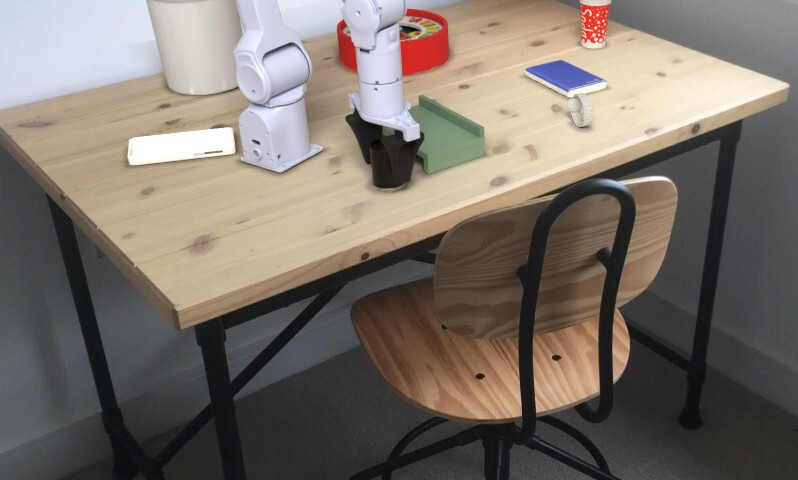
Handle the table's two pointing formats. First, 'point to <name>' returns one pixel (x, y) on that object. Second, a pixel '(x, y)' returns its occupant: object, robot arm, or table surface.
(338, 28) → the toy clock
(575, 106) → the wristwatch
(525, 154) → the table surface
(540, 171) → the table surface
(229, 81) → the utensil holder
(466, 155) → the shelf
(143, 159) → the phone case
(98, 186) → the table surface
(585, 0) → the beverage cup
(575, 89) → the hard drive
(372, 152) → the cylinder
